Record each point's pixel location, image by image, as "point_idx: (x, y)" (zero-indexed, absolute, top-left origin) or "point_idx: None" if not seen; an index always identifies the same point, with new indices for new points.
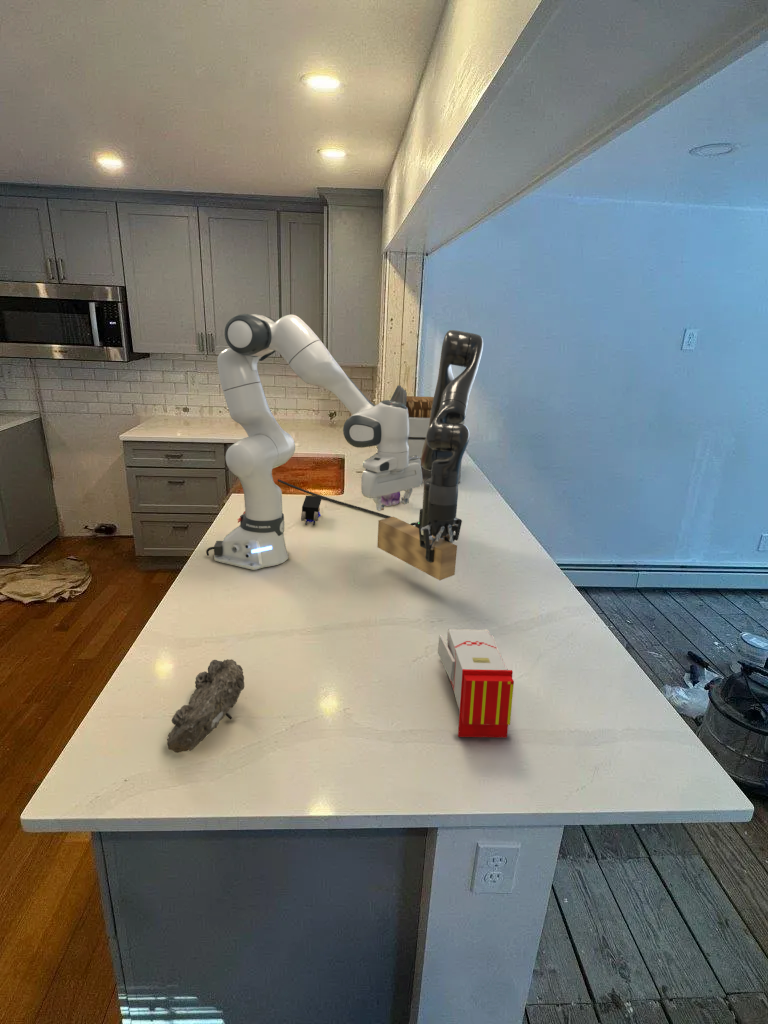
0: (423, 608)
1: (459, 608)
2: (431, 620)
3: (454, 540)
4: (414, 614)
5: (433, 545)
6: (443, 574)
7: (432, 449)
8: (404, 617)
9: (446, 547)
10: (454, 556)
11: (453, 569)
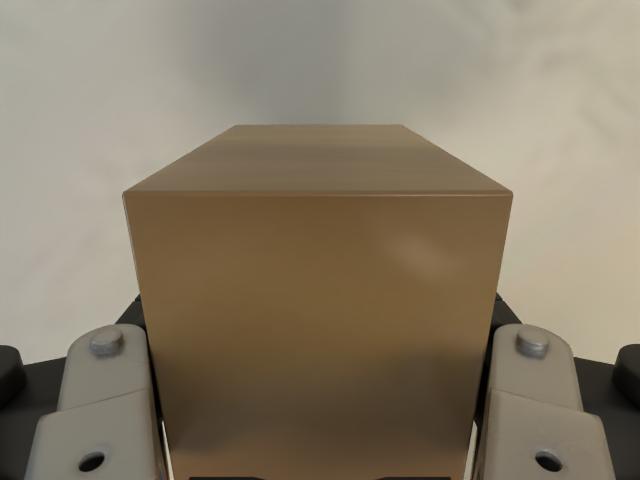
0: (444, 137)
1: (290, 17)
2: (512, 15)
3: (28, 366)
4: (526, 119)
5: (539, 372)
6: (372, 129)
7: None
8: (585, 126)
9: (350, 242)
10: (219, 154)
11: (245, 132)
